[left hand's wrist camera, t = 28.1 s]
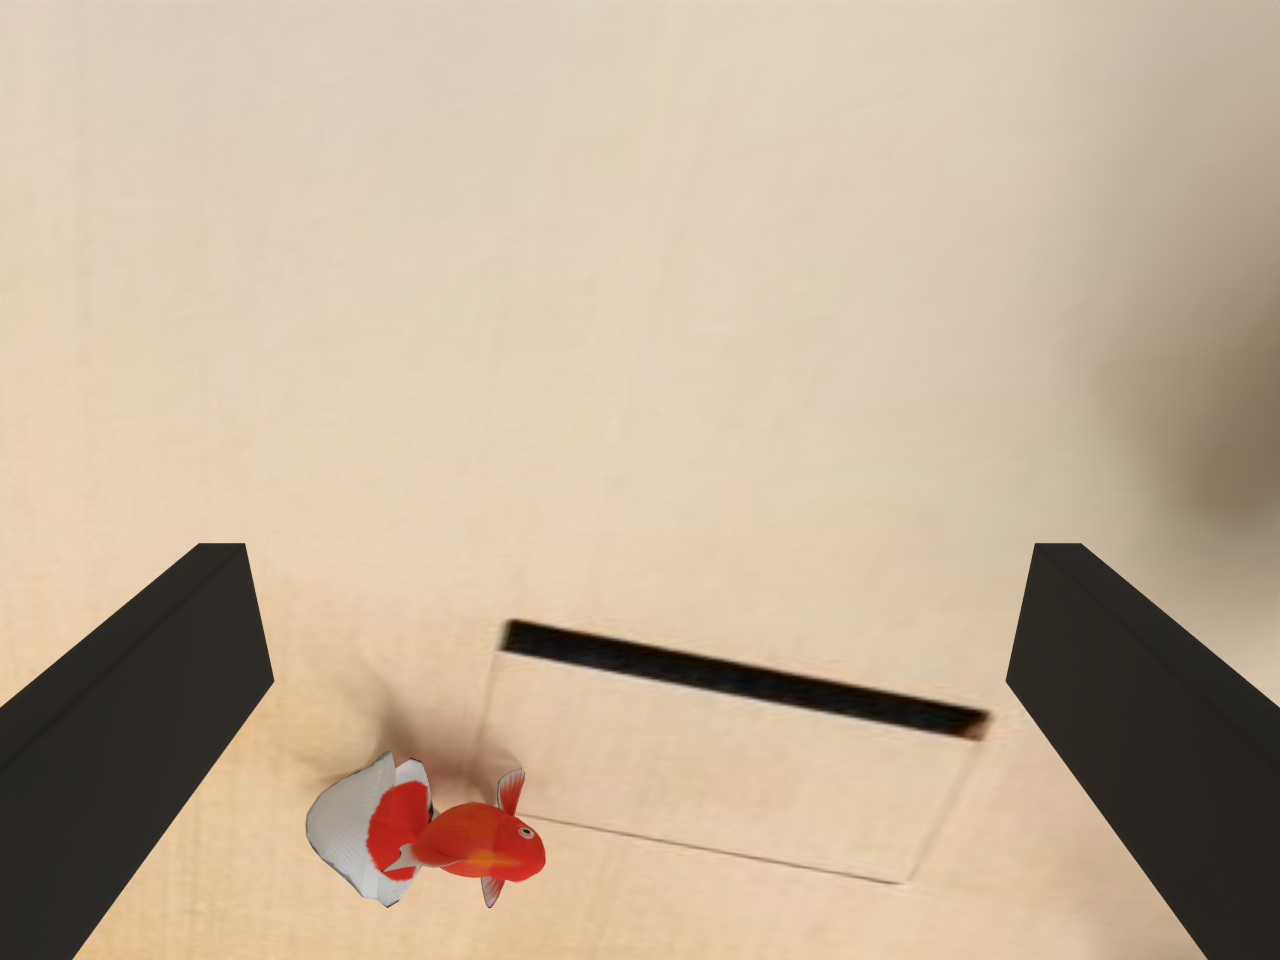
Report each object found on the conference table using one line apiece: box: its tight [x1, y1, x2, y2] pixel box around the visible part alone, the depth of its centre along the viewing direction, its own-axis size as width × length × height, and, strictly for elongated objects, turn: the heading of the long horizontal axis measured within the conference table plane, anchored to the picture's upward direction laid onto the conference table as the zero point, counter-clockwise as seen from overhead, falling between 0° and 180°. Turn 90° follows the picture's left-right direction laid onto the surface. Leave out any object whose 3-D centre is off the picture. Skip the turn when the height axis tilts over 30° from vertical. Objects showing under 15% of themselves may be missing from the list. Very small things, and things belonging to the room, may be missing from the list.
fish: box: [306, 751, 546, 908], centre depth 48 cm, size 11×16×10 cm
